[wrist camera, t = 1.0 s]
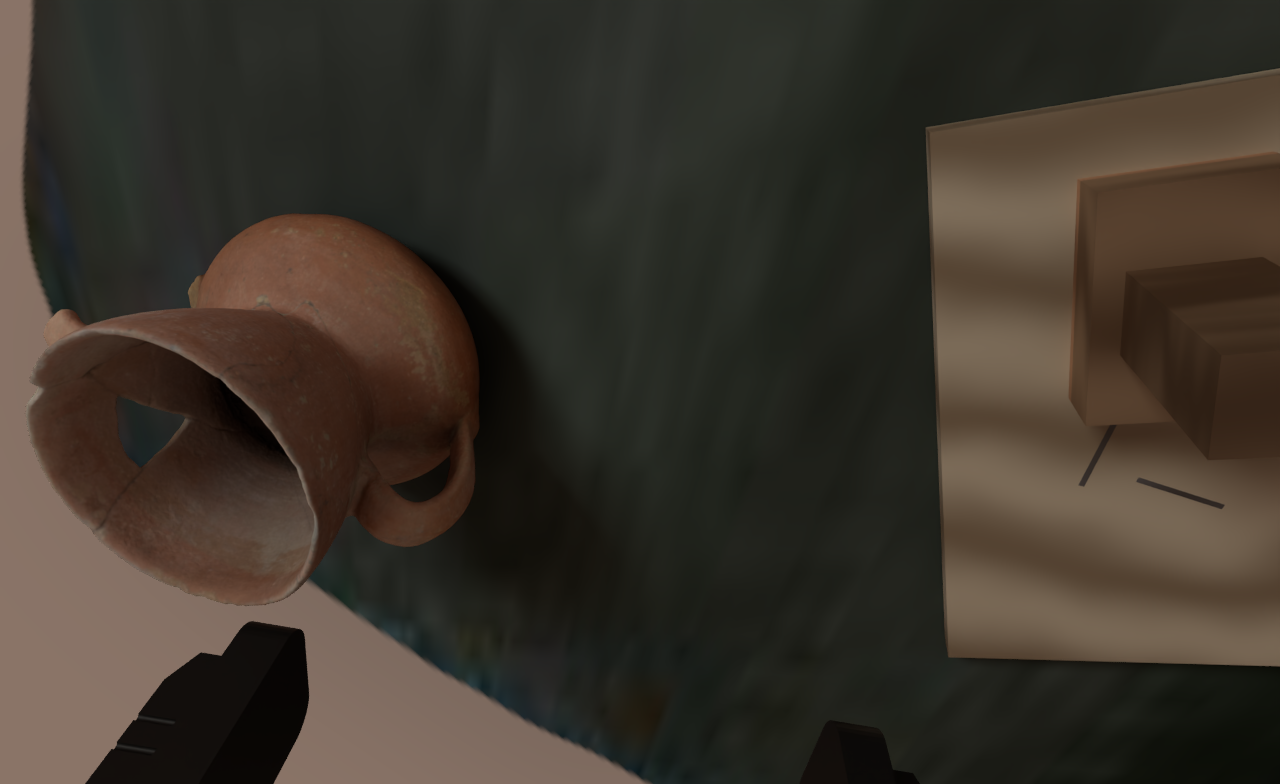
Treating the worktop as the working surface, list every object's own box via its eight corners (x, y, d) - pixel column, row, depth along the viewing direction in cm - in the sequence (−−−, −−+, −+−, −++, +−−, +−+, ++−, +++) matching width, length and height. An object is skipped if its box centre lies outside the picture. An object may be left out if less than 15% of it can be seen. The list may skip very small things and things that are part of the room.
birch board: (925, 127, 29) (929, 132, 28) (1443, 40, 25) (1478, 42, 23) (944, 636, 40) (948, 657, 38) (1311, 643, 35) (1330, 667, 34)
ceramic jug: (206, 353, 43) (-42, 495, 31) (261, 126, 36) (-37, 194, 23) (476, 512, 44) (340, 711, 32) (583, 324, 37) (460, 487, 24)
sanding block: (1077, 179, 27) (1187, 253, 19) (1273, 151, 26) (1496, 218, 17) (1068, 397, 31) (1157, 545, 22) (1239, 386, 29) (1409, 542, 21)
